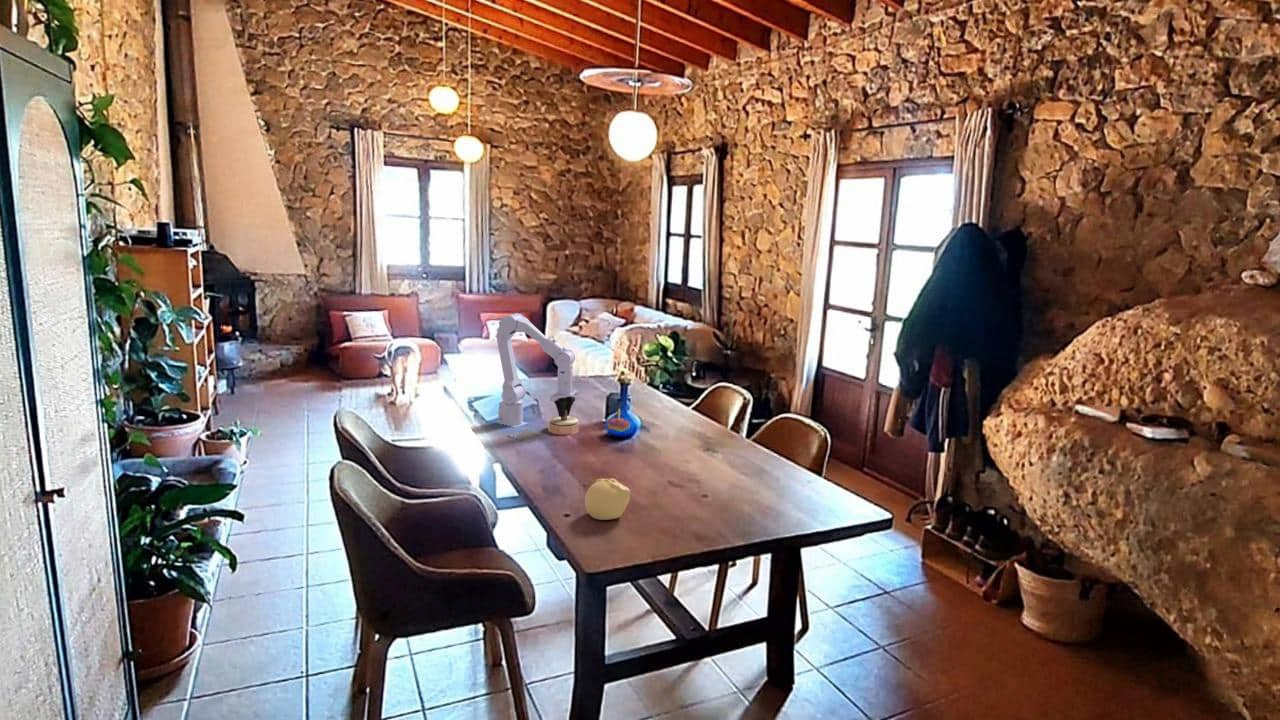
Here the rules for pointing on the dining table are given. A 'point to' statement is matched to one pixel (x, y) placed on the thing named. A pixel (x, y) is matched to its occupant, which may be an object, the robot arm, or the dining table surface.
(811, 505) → the dining table surface
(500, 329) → the robot arm
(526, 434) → the mat
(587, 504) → the butter
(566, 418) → the lid
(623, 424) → the cupcake
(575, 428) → the octagonal bowl
